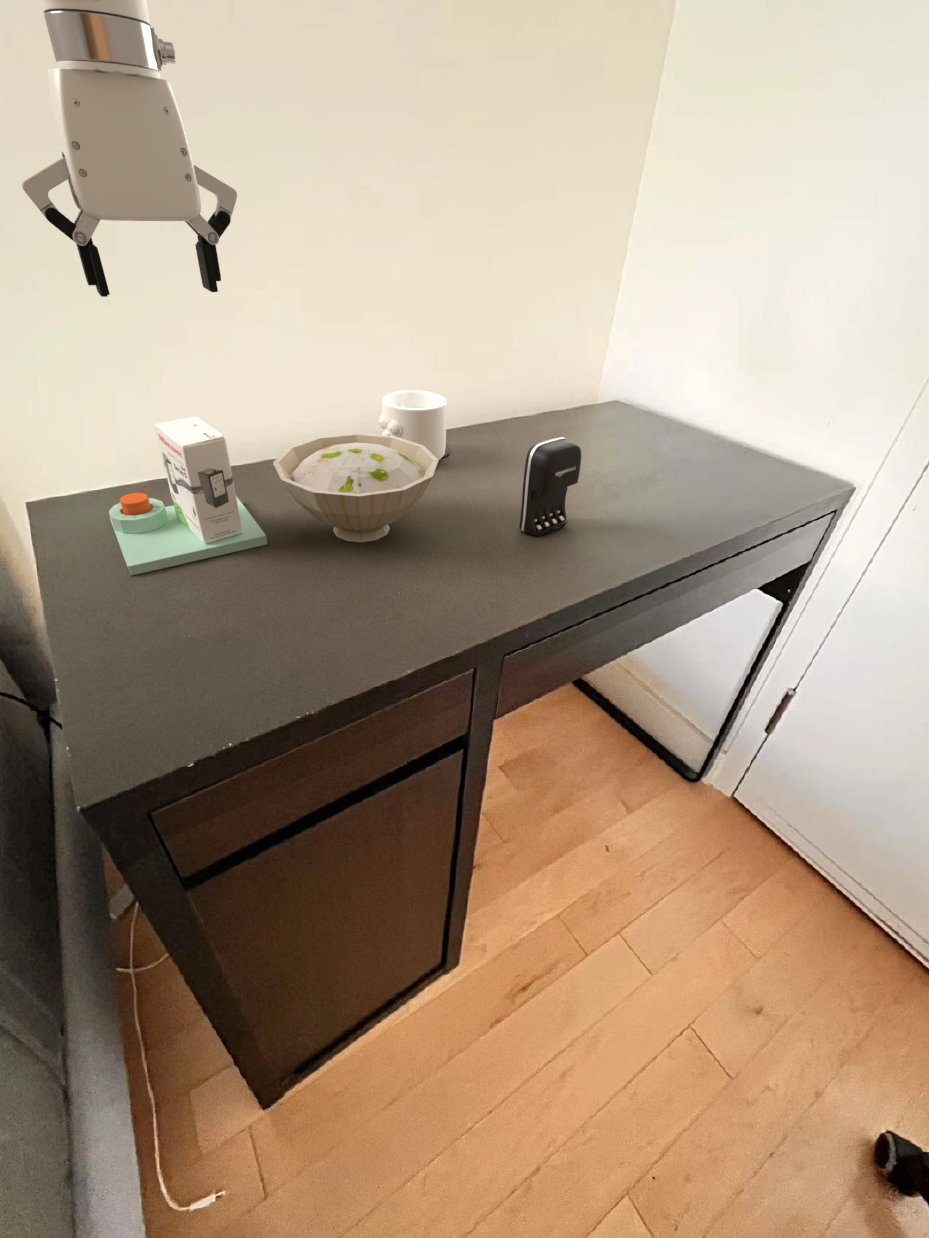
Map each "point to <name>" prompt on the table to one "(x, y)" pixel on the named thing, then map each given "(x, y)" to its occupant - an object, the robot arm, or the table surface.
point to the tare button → (135, 504)
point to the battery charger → (548, 484)
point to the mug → (416, 419)
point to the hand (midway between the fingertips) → (159, 292)
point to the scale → (173, 538)
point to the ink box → (200, 478)
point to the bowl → (357, 480)
